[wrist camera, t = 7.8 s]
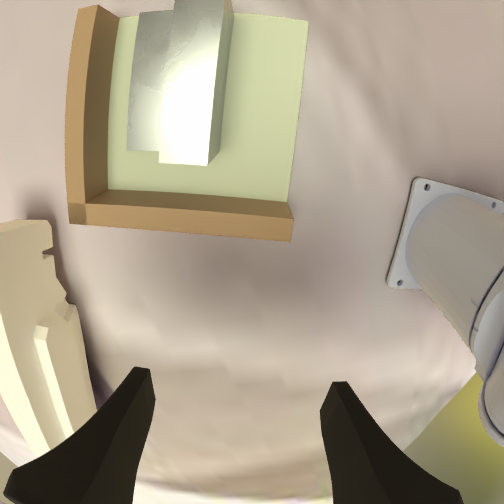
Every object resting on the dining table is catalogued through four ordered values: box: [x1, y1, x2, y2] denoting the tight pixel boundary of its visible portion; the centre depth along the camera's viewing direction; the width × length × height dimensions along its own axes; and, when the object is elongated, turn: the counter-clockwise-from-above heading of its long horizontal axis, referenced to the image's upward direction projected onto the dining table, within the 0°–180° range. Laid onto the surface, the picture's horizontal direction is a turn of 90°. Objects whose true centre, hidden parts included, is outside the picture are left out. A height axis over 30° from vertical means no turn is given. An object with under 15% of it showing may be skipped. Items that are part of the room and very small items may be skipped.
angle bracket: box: [126, 0, 234, 166], centre depth 12 cm, size 8×5×5 cm, turn 174°
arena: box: [65, 5, 309, 242], centre depth 14 cm, size 12×12×4 cm
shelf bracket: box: [0, 220, 97, 458], centre depth 20 cm, size 6×25×13 cm, turn 177°
